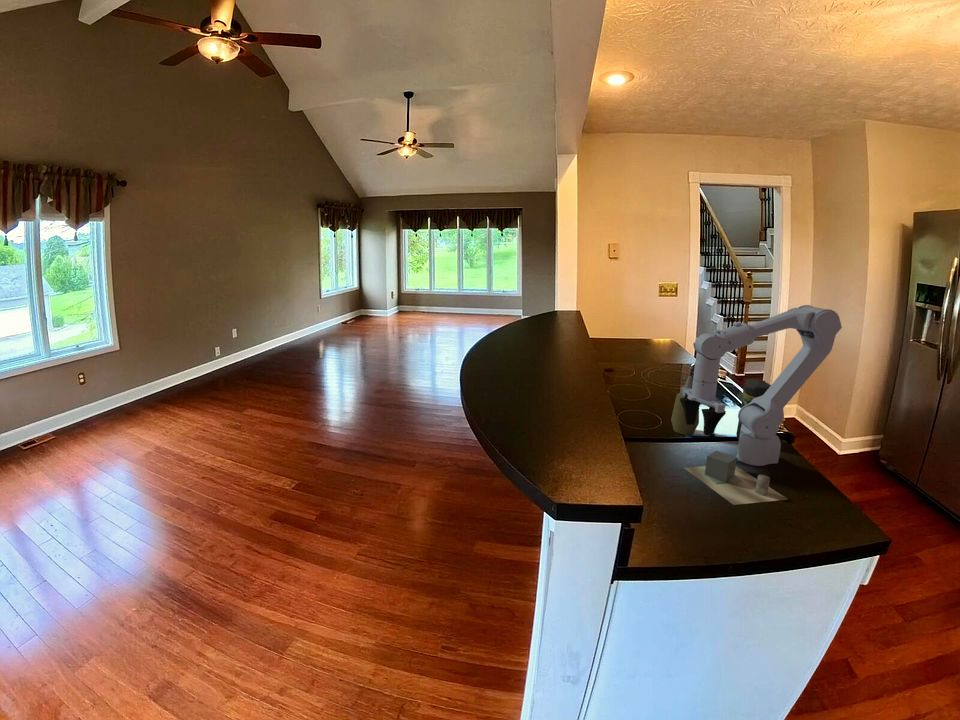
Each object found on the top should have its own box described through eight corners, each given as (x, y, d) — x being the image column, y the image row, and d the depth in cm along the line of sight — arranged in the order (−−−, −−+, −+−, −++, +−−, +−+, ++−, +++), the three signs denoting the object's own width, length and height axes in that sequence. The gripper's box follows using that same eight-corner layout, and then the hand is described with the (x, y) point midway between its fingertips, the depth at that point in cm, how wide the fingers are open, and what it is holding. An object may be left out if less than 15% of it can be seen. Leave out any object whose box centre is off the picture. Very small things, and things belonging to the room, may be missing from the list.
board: (731, 469, 123) (734, 449, 122) (787, 505, 106) (791, 483, 105) (683, 473, 121) (686, 453, 119) (732, 510, 103) (736, 488, 102)
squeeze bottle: (665, 427, 152) (671, 373, 147) (689, 426, 152) (695, 373, 148) (677, 437, 144) (684, 380, 140) (702, 436, 144) (710, 380, 140)
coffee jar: (770, 449, 136) (781, 387, 131) (740, 445, 138) (749, 385, 134) (762, 436, 145) (771, 378, 140) (733, 433, 147) (742, 376, 143)
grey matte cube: (713, 468, 119) (716, 450, 118) (734, 476, 116) (737, 457, 115) (704, 474, 116) (707, 456, 115) (725, 482, 113) (728, 463, 111)
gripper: (674, 373, 128) (669, 420, 131) (709, 388, 114) (702, 440, 117) (698, 372, 129) (692, 419, 132) (735, 387, 115) (727, 439, 118)
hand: (698, 429), depth 125 cm, fingers open, 7 cm apart
